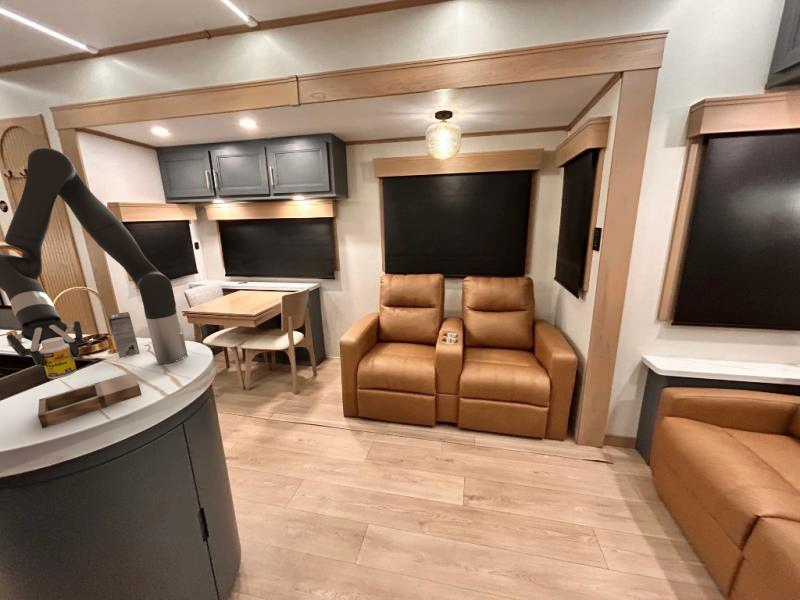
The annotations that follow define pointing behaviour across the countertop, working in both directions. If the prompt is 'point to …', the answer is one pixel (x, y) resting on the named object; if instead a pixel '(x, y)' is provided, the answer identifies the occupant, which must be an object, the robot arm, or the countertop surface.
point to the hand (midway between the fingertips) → (59, 359)
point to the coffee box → (123, 334)
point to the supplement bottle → (57, 358)
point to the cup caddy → (87, 399)
